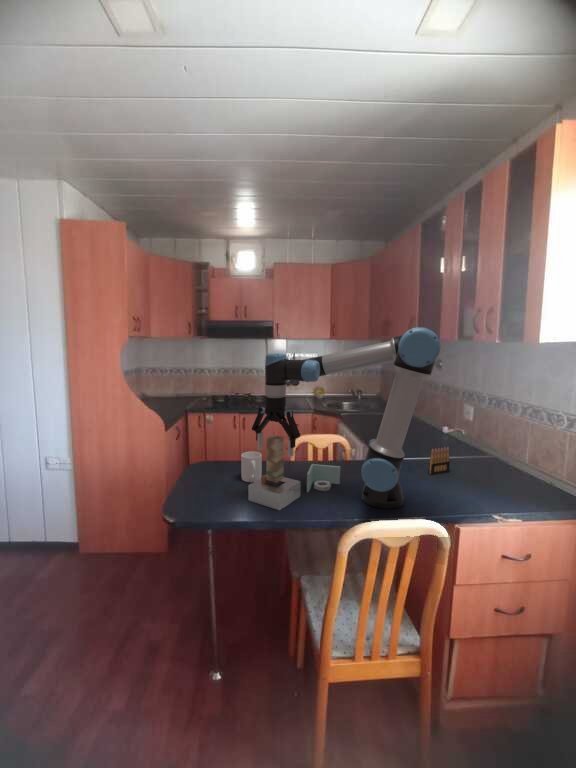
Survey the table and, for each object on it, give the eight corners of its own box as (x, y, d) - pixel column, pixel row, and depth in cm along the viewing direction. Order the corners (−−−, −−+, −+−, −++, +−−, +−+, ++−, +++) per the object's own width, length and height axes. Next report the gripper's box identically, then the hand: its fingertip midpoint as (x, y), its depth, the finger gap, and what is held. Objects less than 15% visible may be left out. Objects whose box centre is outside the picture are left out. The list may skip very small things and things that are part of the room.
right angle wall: (306, 492, 144) (306, 474, 143) (311, 481, 155) (311, 463, 154) (337, 495, 141) (337, 477, 140) (339, 483, 153) (340, 466, 152)
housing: (300, 496, 140) (300, 476, 139) (279, 510, 128) (279, 488, 127) (270, 487, 147) (270, 468, 146) (248, 500, 135) (248, 479, 134)
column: (283, 478, 137) (284, 437, 135) (276, 482, 133) (276, 440, 131) (273, 476, 140) (273, 435, 138) (266, 479, 136) (266, 438, 134)
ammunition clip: (431, 475, 163) (432, 449, 162) (428, 473, 165) (429, 448, 163) (449, 472, 167) (451, 446, 166) (446, 470, 169) (448, 445, 167)
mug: (244, 486, 148) (243, 461, 147) (240, 476, 159) (240, 452, 158) (264, 484, 150) (265, 459, 149) (259, 474, 162) (259, 450, 160)
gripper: (310, 398, 129) (309, 456, 132) (254, 391, 142) (254, 444, 145) (299, 401, 123) (298, 462, 125) (242, 394, 136) (242, 449, 139)
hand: (275, 452), depth 135 cm, fingers open, 13 cm apart
